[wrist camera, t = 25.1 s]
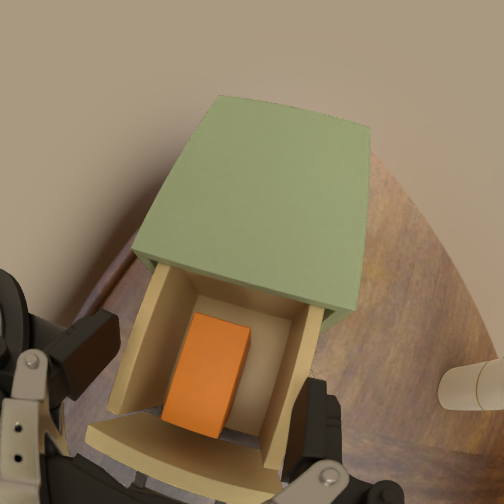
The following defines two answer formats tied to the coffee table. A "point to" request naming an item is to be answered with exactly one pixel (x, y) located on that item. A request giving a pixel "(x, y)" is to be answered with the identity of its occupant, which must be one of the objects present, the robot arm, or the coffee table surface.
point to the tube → (473, 387)
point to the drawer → (246, 400)
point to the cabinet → (267, 204)
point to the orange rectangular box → (207, 375)
